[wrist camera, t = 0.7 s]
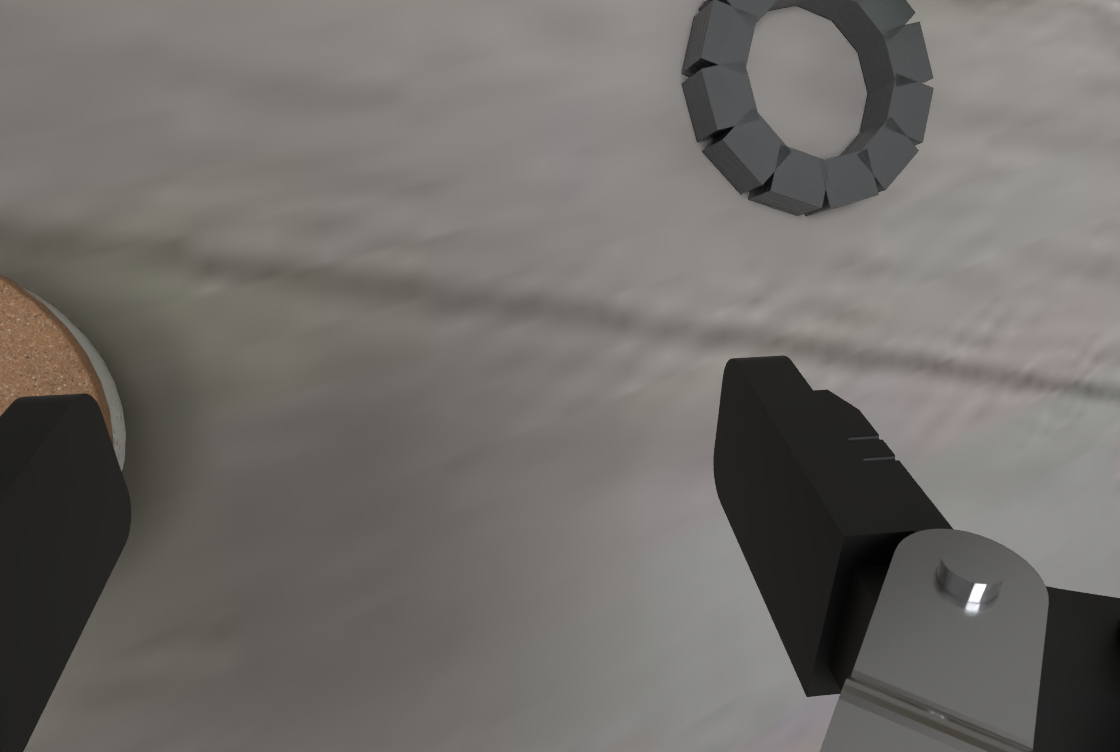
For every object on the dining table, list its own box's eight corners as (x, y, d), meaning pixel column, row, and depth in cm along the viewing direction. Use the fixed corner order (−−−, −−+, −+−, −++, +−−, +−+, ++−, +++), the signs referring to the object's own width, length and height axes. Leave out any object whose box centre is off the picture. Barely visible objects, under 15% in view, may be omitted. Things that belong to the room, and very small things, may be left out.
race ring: (655, -17, 34) (673, -38, 33) (869, -56, 38) (896, -76, 36) (723, 239, 35) (744, 232, 34) (926, 181, 39) (955, 172, 37)
